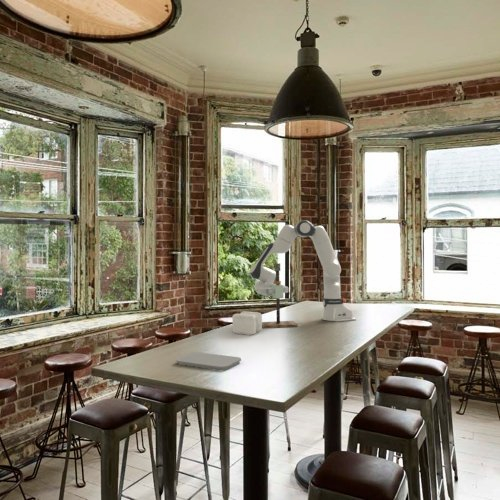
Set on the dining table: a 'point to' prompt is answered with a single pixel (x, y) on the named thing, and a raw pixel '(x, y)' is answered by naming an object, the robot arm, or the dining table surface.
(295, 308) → the dining table surface
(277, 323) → the stand
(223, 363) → the tablet
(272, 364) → the dining table surface
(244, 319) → the cable organizer
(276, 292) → the sleeve
